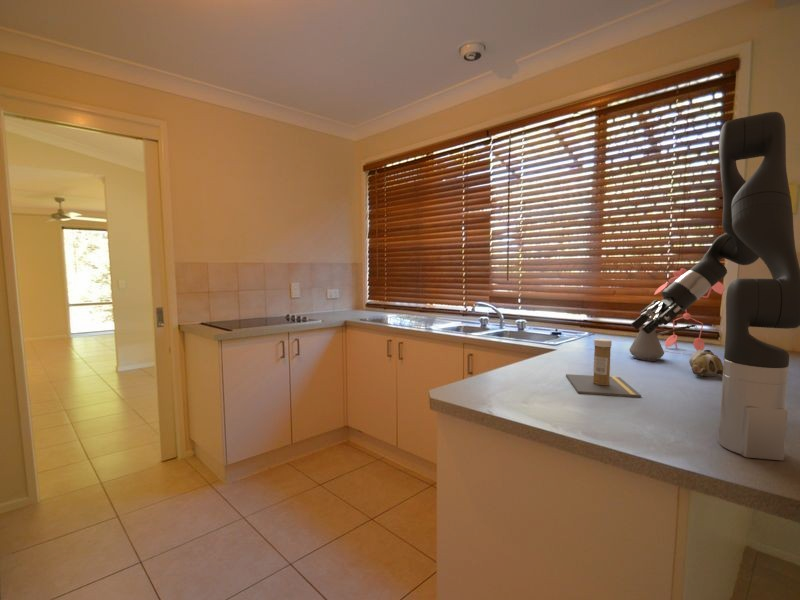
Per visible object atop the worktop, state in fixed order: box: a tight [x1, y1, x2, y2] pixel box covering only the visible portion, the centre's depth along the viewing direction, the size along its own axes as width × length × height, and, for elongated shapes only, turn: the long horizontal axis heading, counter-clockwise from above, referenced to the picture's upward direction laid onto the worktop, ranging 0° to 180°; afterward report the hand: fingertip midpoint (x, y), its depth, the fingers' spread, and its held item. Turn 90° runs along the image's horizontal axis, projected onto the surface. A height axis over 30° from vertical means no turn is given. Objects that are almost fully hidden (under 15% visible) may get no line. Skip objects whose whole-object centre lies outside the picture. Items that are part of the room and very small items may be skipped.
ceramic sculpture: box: [688, 349, 724, 377], centre depth 129 cm, size 11×9×15 cm
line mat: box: [565, 373, 642, 398], centre depth 118 cm, size 18×16×1 cm
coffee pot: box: [628, 324, 698, 362], centre depth 148 cm, size 21×12×15 cm, turn 40°
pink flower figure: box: [653, 267, 725, 356], centre depth 164 cm, size 15×26×35 cm, turn 31°
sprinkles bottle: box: [593, 338, 613, 386], centre depth 117 cm, size 5×5×13 cm
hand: (638, 329), depth 114 cm, fingers open, 8 cm apart
